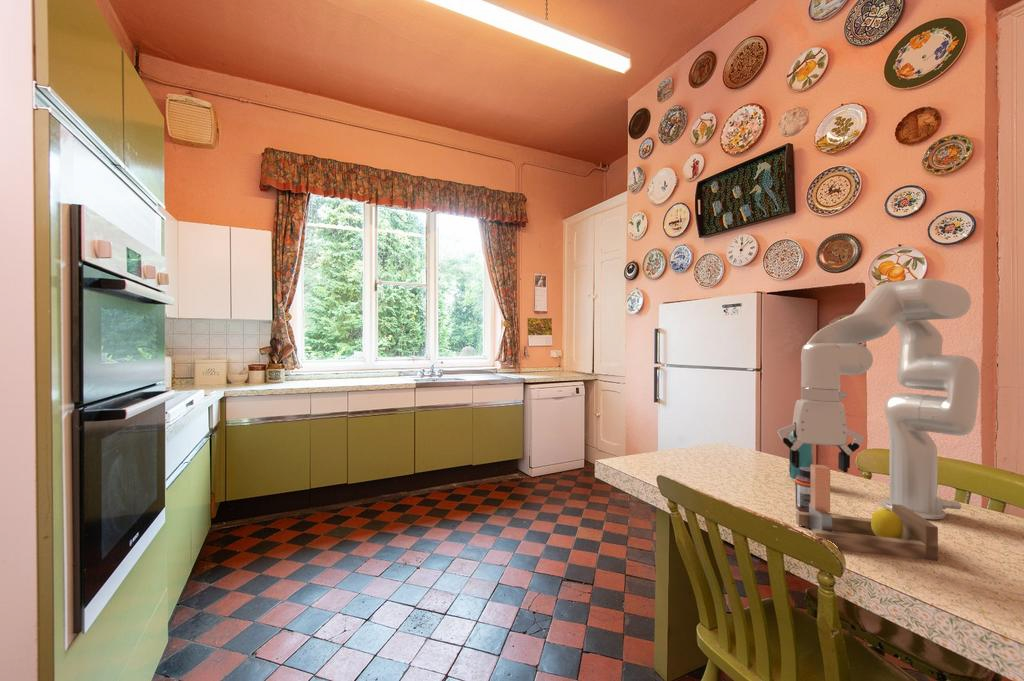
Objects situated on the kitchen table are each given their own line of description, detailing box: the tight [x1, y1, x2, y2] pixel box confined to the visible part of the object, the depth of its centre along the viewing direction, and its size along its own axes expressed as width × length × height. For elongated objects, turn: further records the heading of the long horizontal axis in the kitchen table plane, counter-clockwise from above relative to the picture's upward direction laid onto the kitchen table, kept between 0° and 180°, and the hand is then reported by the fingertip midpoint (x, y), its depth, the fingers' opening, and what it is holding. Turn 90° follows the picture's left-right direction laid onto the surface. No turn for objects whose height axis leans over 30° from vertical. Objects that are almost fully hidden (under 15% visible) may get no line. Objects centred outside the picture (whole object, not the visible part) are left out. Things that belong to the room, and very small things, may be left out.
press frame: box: [795, 504, 939, 562], centre depth 100 cm, size 22×13×7 cm, turn 73°
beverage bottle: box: [788, 431, 814, 480], centre depth 141 cm, size 6×7×20 cm
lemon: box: [870, 507, 903, 539], centre depth 99 cm, size 6×6×8 cm
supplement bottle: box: [794, 467, 811, 512], centre depth 118 cm, size 6×6×11 cm
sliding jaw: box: [808, 463, 833, 532], centre depth 103 cm, size 3×8×16 cm, turn 163°
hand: (818, 468), depth 103 cm, fingers open, 9 cm apart
